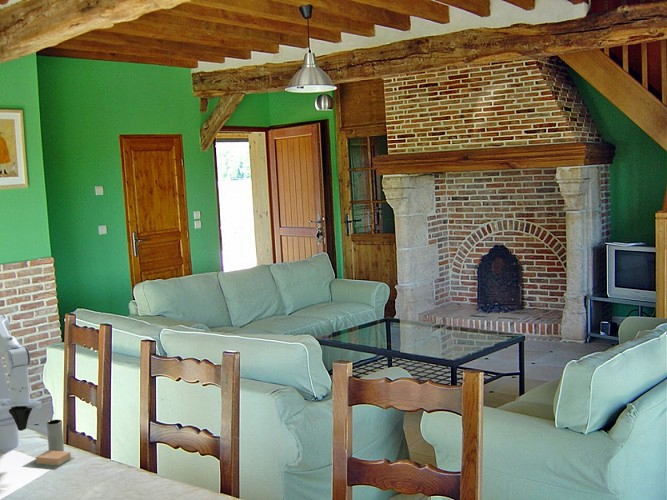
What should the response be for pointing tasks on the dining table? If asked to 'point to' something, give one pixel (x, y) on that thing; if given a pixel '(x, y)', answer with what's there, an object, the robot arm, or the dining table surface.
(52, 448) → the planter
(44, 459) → the tile
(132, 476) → the dining table surface
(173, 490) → the dining table surface
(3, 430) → the robot arm
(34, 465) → the mat
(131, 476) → the dining table surface
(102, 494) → the dining table surface
